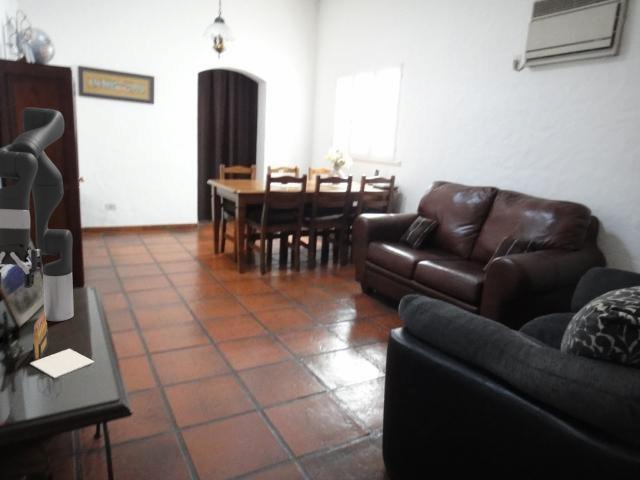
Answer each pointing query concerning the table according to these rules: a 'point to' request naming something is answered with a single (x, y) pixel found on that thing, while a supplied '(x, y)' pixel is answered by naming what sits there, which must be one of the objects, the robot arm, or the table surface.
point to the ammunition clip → (40, 337)
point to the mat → (62, 363)
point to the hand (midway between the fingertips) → (12, 287)
